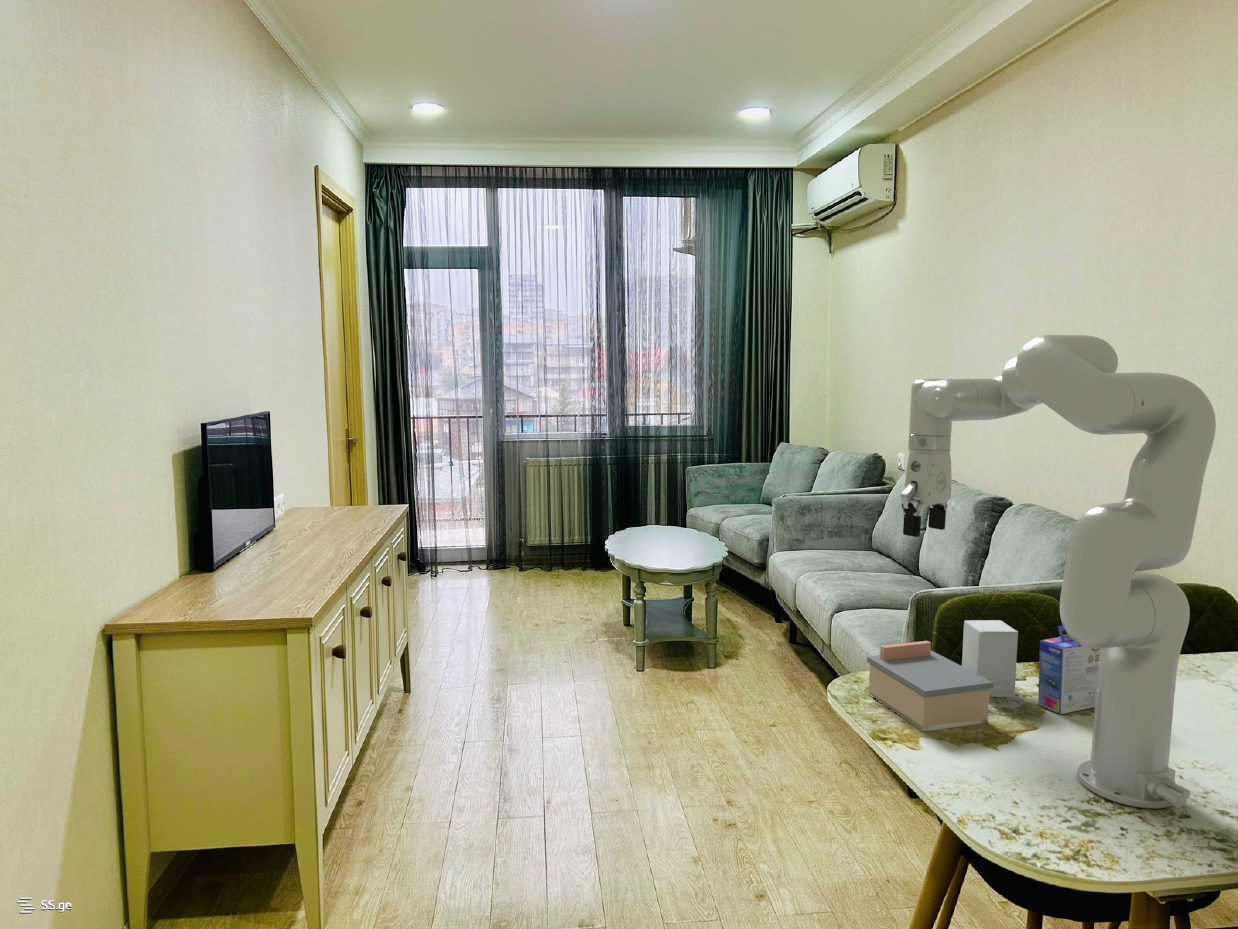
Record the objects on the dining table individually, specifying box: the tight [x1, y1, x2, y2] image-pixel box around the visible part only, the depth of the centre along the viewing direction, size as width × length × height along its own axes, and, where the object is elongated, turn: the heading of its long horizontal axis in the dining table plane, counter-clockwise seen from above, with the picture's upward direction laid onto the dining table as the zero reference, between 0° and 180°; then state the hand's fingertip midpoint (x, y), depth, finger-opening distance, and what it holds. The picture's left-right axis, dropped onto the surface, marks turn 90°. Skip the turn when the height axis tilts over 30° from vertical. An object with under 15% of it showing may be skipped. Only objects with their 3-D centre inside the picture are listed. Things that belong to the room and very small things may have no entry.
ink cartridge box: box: [1037, 625, 1103, 715], centre depth 148 cm, size 10×6×14 cm, turn 112°
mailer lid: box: [866, 640, 994, 697], centre depth 147 cm, size 17×14×3 cm
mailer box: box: [868, 663, 990, 732], centre depth 147 cm, size 16×13×6 cm
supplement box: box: [961, 619, 1019, 698], centre depth 155 cm, size 7×7×13 cm
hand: (924, 532), depth 159 cm, fingers open, 9 cm apart
